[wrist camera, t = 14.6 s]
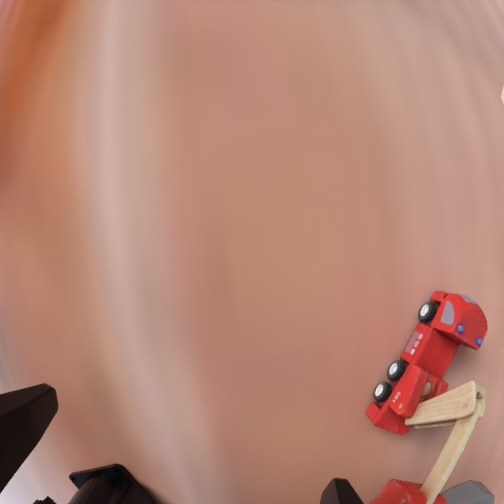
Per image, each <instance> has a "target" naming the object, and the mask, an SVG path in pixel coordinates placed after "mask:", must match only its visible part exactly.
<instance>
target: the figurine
mask: <svg viewBox="0 0 504 504" xmlns="http://www.w3.org/2000/svg"><path fill="white" fill-rule="evenodd" d="M501 99H502V102H503V104H504V87H503V91H502V95H501Z"/></svg>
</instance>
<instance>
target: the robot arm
mask: <svg viewBox="0 0 504 504" xmlns="http://www.w3.org/2000/svg"><path fill="white" fill-rule="evenodd" d="M57 411H58V400H57V394H56V390H55V389H54V388H53V387H51V386H50V385H48V384H45V383H43V384H39V385H36V386H32V387H28V388H24V389H20V390H16V391H12V392H8V393H4V394H0V493H1V492H2V490H3V489H4V488H5V486H6V485H7V484H8V482H9V481H10V479H11V478H12V477H13V475H14V474H15V473H16V471H17V470H18V469H19V467H20V466H21V465H22V463H23V462H24V461H25V460H26V458H27V457H28V456H29V454H30V453H31V452H32V450H33V449H34V448H35V446H36V445H37V444H38V442H39V441H40V439H41V438H42V436H43V434H44V433H45V431H46V429H47V427H48V426H49V424H50V422H51V421H52V419H53V418H54V416H55V414H56V413H57ZM117 469H118V470H117ZM69 478H70V480H71V481H72V482H73V483H74V484H75V486H76V487H77V488H78V491H77V492H76V494H75V495H74V496H73V498H72V499H71V500H70V502H69V503H68V504H156V503H155V502H154V501H153V500H152V499H151V498H150V497H149V496H148V495H147V494H146V493H145V492H144V491H143V490H142V489H141V487H140V486H139V485H138V484H137V483H136V482H135V481H134V480H133V478H132V477H131V476H130V475H129V474H128V473H127V471H126V470H125V469H124V468H123V467H122V466H121V465H119V464H112V465H108V466H103V467H99V468H94V469H89V470H84V471H79V472H74V473H71V474H70V475H69ZM53 501H54V500H52V499H51V498H50V497H48V496H47V497H46V498H45V499H44V500H43V501H42V500H40V501H39V500H36V501H35V502H34V503H33V504H56V503H55V502H53ZM320 504H364V503H363V502H362V500H361V499H360V497H359V496H358V495H357V493H356V492H355V490H354V489H353V487H352V486H351V484H350V483H349V482H348V480H346V479H342V478H334V479H332V480H331V482H330V483H329V484H328V486H327V487H326V488H325V490H324V491H323V493H322V496H321V502H320Z"/></svg>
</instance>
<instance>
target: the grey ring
mask: <svg viewBox="0 0 504 504" xmlns="http://www.w3.org/2000/svg"><path fill="white" fill-rule="evenodd" d="M442 496H443V497H444V498H445V499H446V502H447V504H494V495H493V494H492V493H491V492H490V491H489V490H488V489H487V488H486V487H485V486H484V485H483V484H482V483H480V482H476V481H471V480H470V481H468V482H465V483H463V484H460V485H458V486H455V487H452V488H450V489H449V490H448V491H446V492H445V493H443V494H442Z"/></svg>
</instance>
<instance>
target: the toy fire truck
mask: <svg viewBox="0 0 504 504" xmlns="http://www.w3.org/2000/svg"><path fill="white" fill-rule="evenodd" d="M418 316H419V319H420V320H421V322H419V323H418V324H417V326H416V328H415V330H414V332H413V334H412V335H411V337H410V339H409V342H408V343H407V345H406V347H405V349H404V350H403V352H402V354H401V360H396V361H393V362H392V363H391V365H390V366H389V368H388V371H387V376H388V378H389V380H392V382H391V383H390V384H389V383H387V382H380V383H379V384H378V385H377V386H376V388H375V389H374V393H373V397H374V399H375V400H377V403H376V402H371V403H370V405H369V406H368V407H367V409H366V414H367V415H368V417H369V418H370V420H371V421H372V422H373V424H374V425H375V426H378V427H381V428H384V429H386V430H389V431H392V432H395V433H398V434H400V435H405V434H406V433H407V431H408V430H409V428H410V427H411V426H412V425H414V428H415V429H422V428H433V427H441V426H448V425H454V426H453V429H452V431H451V433H450V435H449V437H448V439H447V441H446V443H445V445H444V447H443V449H442V451H441V453H440V455H439V456H438V458H437V460H436V462H435V464H434V466H433V467H432V469H431V471H430V473H429V474H428V476H427V478H426V479H425V481H424V483H423V484H417V483H411V482H405V481H401V480H395V479H391V480H390V481H389V482H388V483H387V484H386V485H385V487H384V488H383V489H382V490H381V491H380V492H379V493H378V494H377V495H376V497H375V498H374V499H373V500H372V501H371V502H370V503H369V504H447V502H446V499H445V498H444V497H443V496H442V495H440V494H439V492H440V491H441V489H442V487H443V486H444V484H445V483H446V481H447V479H448V477H449V476H450V474H451V472H452V470H453V468H454V467H455V465H456V463H457V461H458V459H459V457H460V455H461V453H462V451H463V450H464V448H465V446H466V443H467V441H468V439H469V437H470V435H471V433H472V431H473V429H474V426H475V423H476V421H477V420H479V419H480V418H482V417H483V415H484V413H485V387H484V386H483V385H481V384H479V383H478V382H476V381H474V380H472V381H469V382H467V383H465V384H463V385H461V386H459V387H457V388H455V389H452V390H450V391H448V392H446V391H447V388H448V383H446V382H445V381H443V380H441V379H442V377H443V375H444V373H445V371H446V370H447V368H448V366H449V365H450V362H451V361H452V359H453V357H454V355H455V353H456V351H457V349H458V347H459V345H460V344H462V345H464V346H467V347H470V348H473V349H475V350H478V349H479V347H480V345H481V344H482V341H483V339H484V337H485V335H486V332H487V321H486V318H485V315H484V313H483V311H482V309H481V308H480V307H479V305H478V304H477V303H476V302H475V301H474V300H472V299H471V298H469V297H467V296H464V295H461V294H452V293H448V292H443V291H435V292H433V294H432V295H431V302H425V303H424V304H423V305H422V306H421V308H420V310H419V314H418Z"/></svg>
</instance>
